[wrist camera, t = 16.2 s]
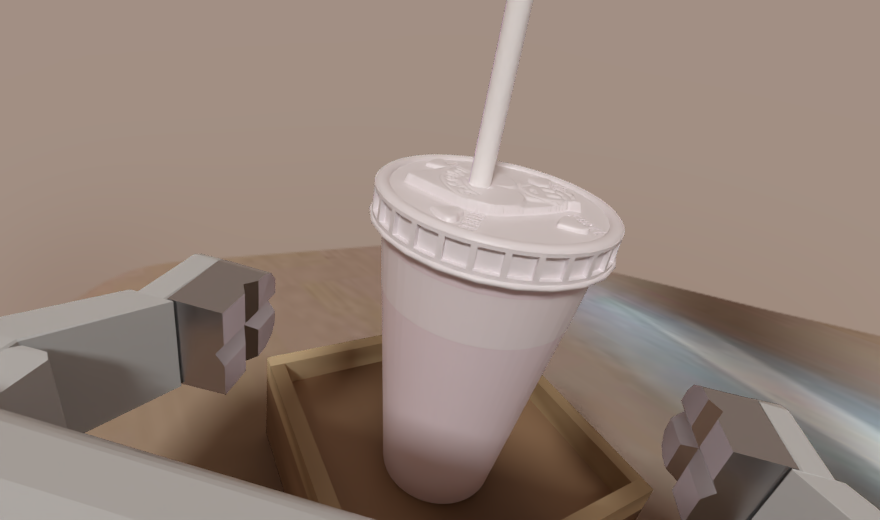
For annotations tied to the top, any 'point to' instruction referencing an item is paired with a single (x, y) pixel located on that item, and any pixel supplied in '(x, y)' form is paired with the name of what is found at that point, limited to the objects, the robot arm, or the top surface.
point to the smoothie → (476, 291)
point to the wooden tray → (362, 464)
